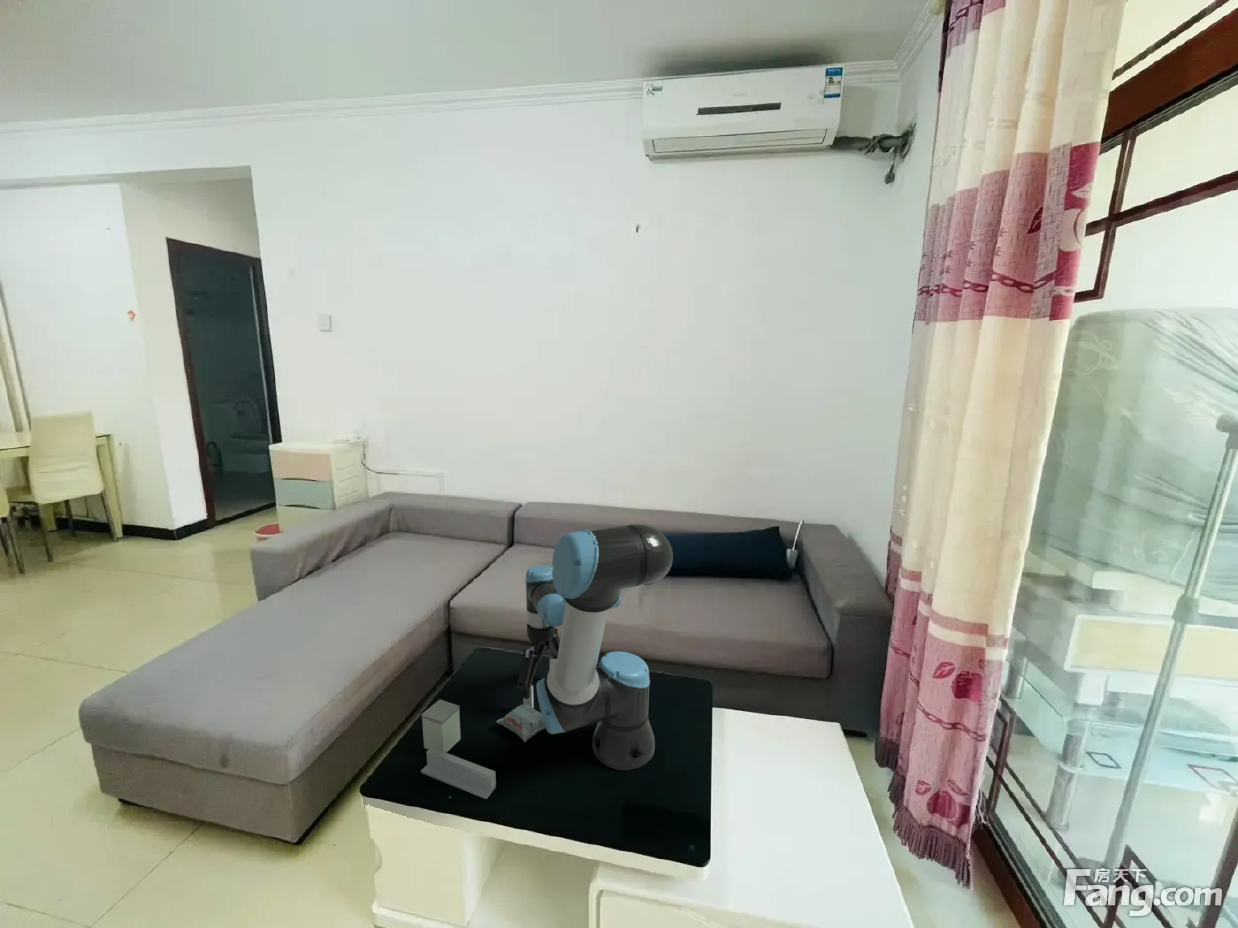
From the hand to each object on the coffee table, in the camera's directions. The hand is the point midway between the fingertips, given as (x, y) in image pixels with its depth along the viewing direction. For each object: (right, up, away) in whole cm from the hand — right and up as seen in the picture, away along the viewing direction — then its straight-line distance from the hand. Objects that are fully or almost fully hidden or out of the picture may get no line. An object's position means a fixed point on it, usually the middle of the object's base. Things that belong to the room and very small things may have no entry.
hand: (542, 692), depth 143 cm
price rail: (-14, -7, -27) cm, 31 cm away
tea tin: (-22, -5, -17) cm, 28 cm away
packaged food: (-6, -5, -12) cm, 14 cm away
